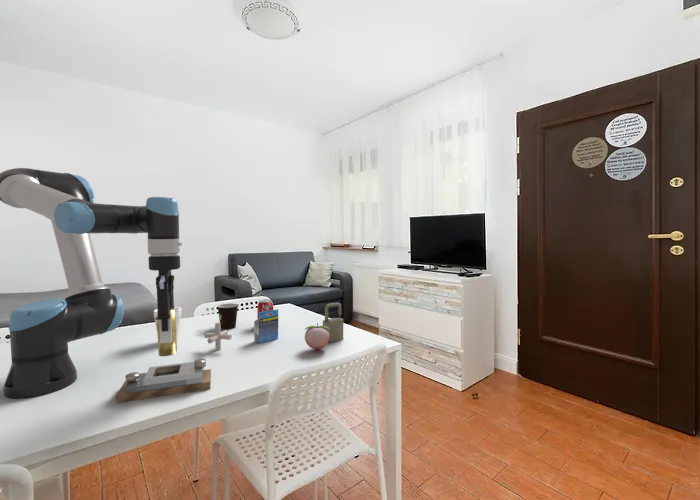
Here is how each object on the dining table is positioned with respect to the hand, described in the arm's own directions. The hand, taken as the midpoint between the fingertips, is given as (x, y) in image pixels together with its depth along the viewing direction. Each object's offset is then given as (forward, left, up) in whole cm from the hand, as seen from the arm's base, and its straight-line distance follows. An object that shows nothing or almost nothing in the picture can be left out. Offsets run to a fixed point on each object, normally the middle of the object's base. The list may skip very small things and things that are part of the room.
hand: (167, 339), depth 93 cm
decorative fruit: (+47, +14, -14) cm, 51 cm away
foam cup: (-5, +42, -14) cm, 45 cm away
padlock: (+56, +23, -14) cm, 62 cm away
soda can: (+33, +51, -14) cm, 62 cm away
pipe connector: (+13, +27, -14) cm, 33 cm away
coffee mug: (+17, +54, -14) cm, 58 cm away
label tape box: (+31, +32, -14) cm, 47 cm away
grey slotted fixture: (0, 0, -12) cm, 12 cm away
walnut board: (0, 0, -14) cm, 14 cm away
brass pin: (0, 0, -4) cm, 4 cm away
